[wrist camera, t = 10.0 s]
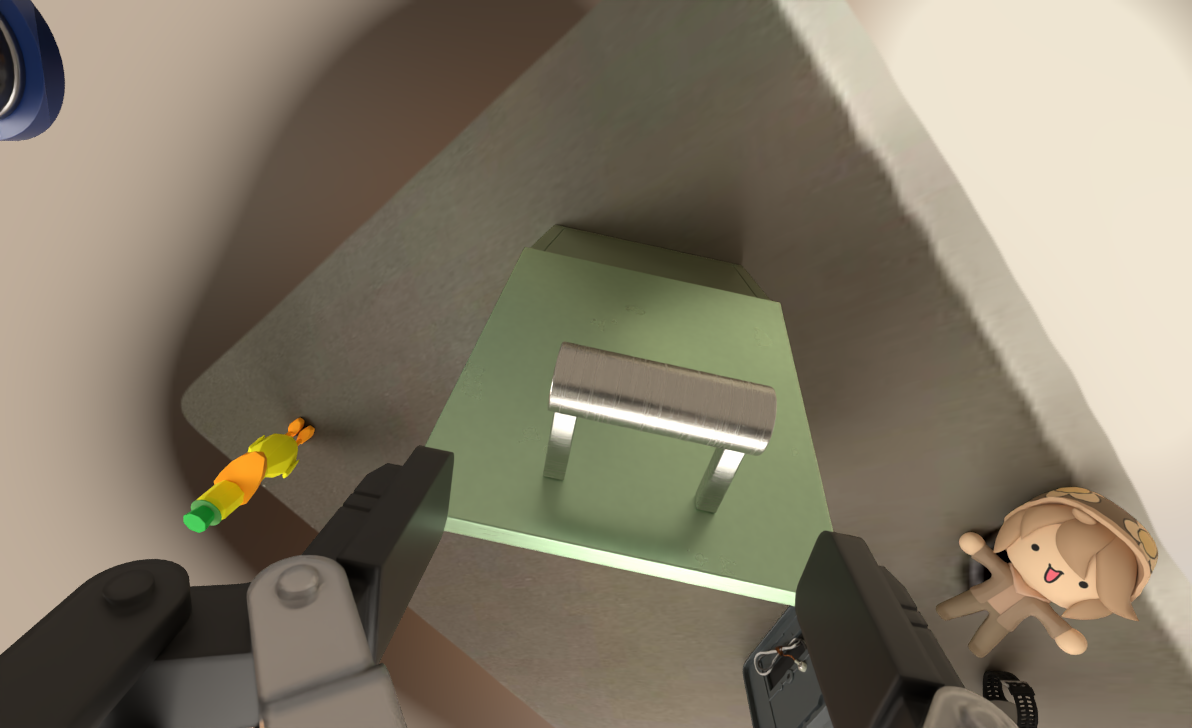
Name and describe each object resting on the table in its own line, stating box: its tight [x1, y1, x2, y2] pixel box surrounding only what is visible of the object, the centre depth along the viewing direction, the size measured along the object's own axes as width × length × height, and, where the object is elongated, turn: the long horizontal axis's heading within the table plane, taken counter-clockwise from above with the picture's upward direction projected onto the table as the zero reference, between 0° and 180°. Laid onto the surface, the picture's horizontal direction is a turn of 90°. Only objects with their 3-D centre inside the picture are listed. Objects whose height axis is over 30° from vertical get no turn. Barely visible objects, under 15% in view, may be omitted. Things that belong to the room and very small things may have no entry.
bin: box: [530, 225, 770, 300], centre depth 38 cm, size 16×14×11 cm
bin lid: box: [425, 247, 833, 606], centre depth 22 cm, size 17×14×6 cm
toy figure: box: [184, 417, 315, 533], centre depth 42 cm, size 7×4×12 cm, turn 138°
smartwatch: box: [983, 671, 1038, 728], centre depth 50 cm, size 4×5×5 cm
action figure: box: [936, 487, 1158, 658], centre depth 43 cm, size 10×11×15 cm
